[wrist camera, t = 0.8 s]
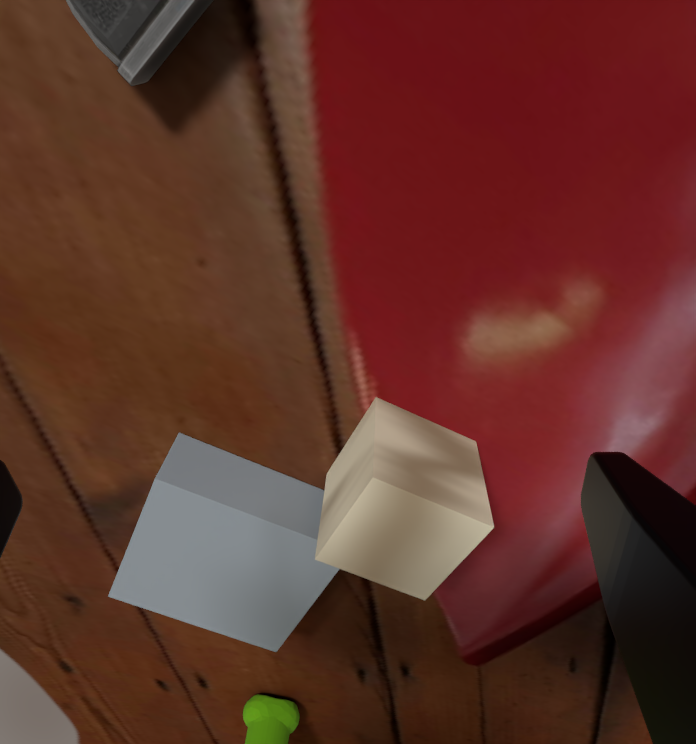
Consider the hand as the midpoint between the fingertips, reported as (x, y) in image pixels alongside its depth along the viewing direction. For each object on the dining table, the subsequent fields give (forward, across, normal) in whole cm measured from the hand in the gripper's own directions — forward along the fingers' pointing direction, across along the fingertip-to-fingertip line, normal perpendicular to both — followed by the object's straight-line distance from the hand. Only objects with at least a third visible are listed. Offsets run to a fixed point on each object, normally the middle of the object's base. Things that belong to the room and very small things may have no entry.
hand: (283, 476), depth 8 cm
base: (+13, +7, +15) cm, 21 cm away
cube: (+13, -2, +11) cm, 17 cm away
